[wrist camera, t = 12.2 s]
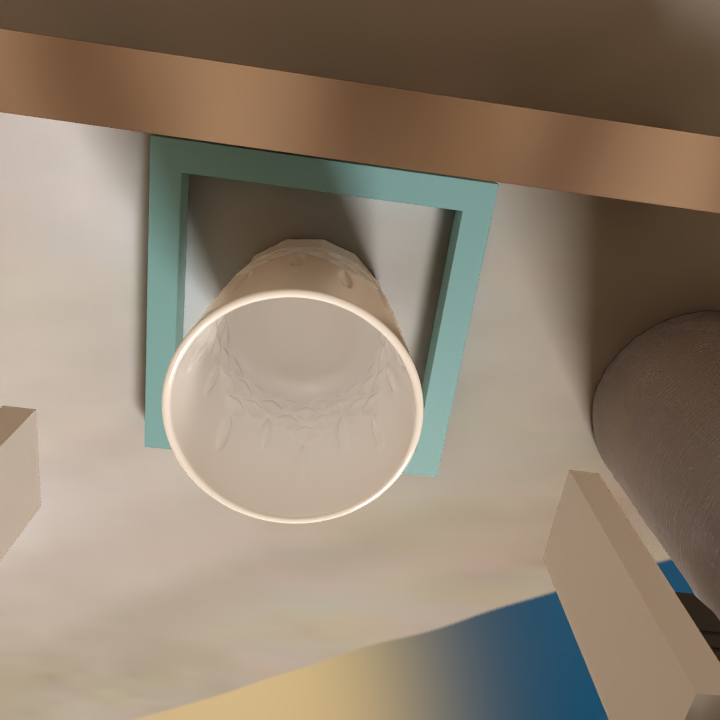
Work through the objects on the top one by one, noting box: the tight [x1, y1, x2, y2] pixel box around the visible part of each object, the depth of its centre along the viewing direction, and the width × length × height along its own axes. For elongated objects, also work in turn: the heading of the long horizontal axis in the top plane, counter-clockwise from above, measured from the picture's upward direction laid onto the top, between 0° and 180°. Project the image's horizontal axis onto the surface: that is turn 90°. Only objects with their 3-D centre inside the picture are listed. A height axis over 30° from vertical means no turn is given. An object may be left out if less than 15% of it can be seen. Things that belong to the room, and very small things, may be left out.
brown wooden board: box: [0, 29, 720, 213], centre depth 22 cm, size 28×2×9 cm, turn 82°
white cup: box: [162, 239, 424, 523], centre depth 25 cm, size 8×8×10 cm
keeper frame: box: [144, 134, 499, 477], centre depth 29 cm, size 13×13×2 cm
